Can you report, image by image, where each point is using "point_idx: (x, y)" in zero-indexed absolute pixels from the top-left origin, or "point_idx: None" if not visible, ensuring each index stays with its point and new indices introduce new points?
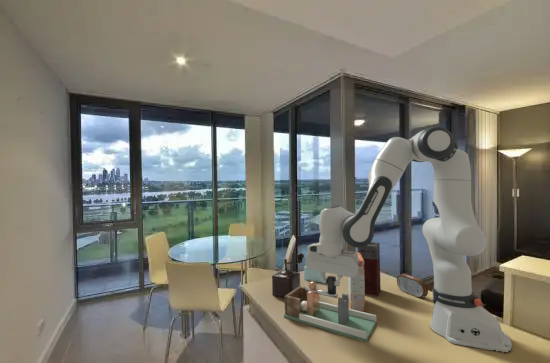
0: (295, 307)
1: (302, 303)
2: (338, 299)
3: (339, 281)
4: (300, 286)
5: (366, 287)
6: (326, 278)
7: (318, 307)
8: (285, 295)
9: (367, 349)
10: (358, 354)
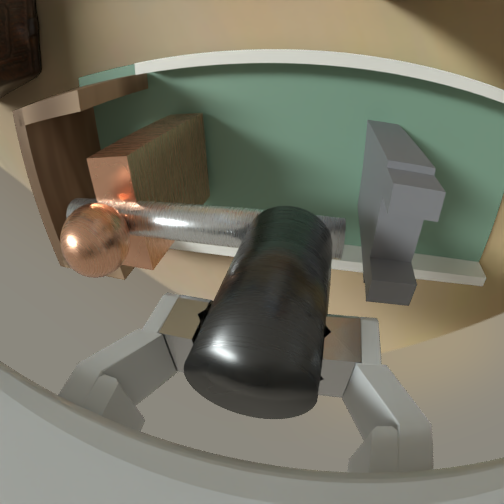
0: None
1: None
2: (369, 295)
3: (379, 356)
4: (17, 112)
5: None
6: (182, 349)
7: (196, 130)
8: (16, 84)
9: (469, 296)
10: (440, 324)
